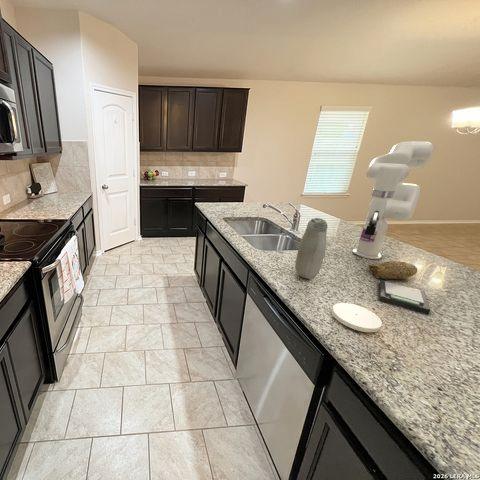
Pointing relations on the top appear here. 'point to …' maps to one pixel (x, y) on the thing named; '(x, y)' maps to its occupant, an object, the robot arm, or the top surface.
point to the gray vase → (312, 249)
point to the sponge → (393, 270)
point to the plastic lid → (356, 317)
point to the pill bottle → (368, 236)
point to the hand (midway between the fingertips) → (369, 232)
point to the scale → (403, 297)
